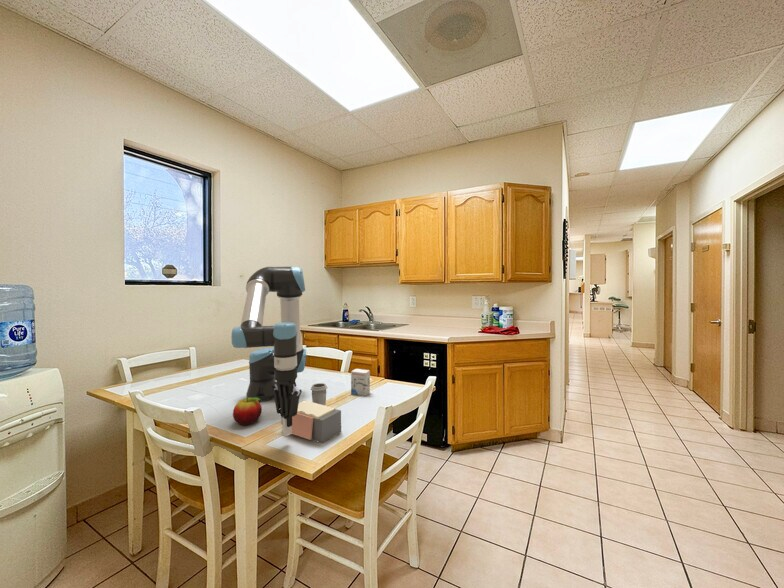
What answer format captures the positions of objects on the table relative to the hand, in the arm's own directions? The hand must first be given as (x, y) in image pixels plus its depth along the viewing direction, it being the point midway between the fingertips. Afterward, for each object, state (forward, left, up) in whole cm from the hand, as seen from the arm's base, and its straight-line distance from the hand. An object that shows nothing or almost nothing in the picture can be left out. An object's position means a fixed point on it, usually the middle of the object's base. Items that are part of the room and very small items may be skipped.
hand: (287, 434), depth 114 cm
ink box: (-9, +54, -4) cm, 55 cm away
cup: (-10, +26, -4) cm, 28 cm away
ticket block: (0, +12, -4) cm, 13 cm away
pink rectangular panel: (0, +6, +1) cm, 6 cm away
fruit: (-28, +4, -4) cm, 29 cm away
